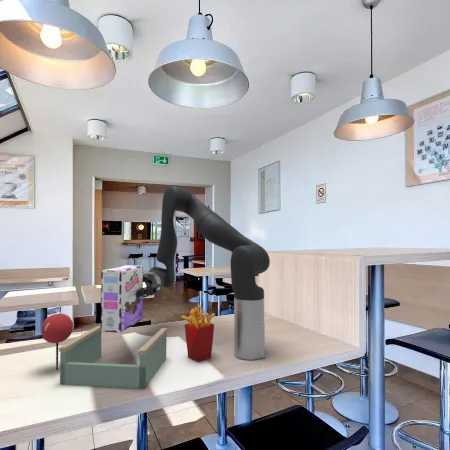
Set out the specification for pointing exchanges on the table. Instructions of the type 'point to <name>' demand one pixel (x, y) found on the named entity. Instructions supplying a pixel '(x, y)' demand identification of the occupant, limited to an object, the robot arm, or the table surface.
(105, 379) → the low partition wall
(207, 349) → the french fries
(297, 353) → the table surface
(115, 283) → the candy box
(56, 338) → the lollipop
